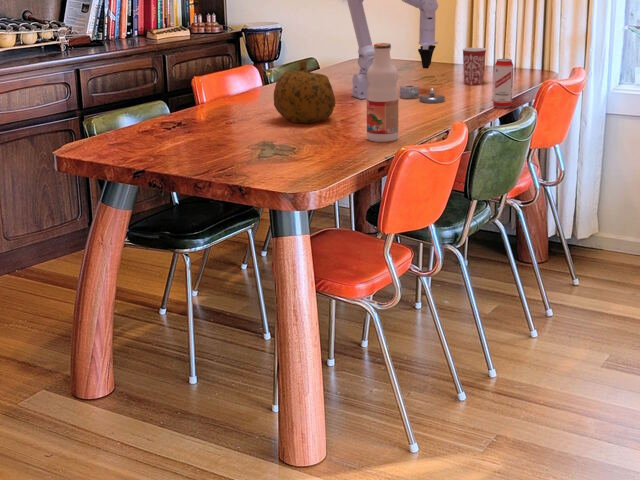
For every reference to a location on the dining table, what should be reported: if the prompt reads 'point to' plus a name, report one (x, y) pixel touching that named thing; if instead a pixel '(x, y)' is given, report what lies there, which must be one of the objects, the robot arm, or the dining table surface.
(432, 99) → the hub
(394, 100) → the fruit juice
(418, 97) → the stand
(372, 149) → the dining table surface
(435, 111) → the dining table surface
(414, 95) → the square tube sleeve
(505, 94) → the beer can
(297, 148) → the dining table surface
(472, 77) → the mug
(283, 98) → the decorative pumpkin
